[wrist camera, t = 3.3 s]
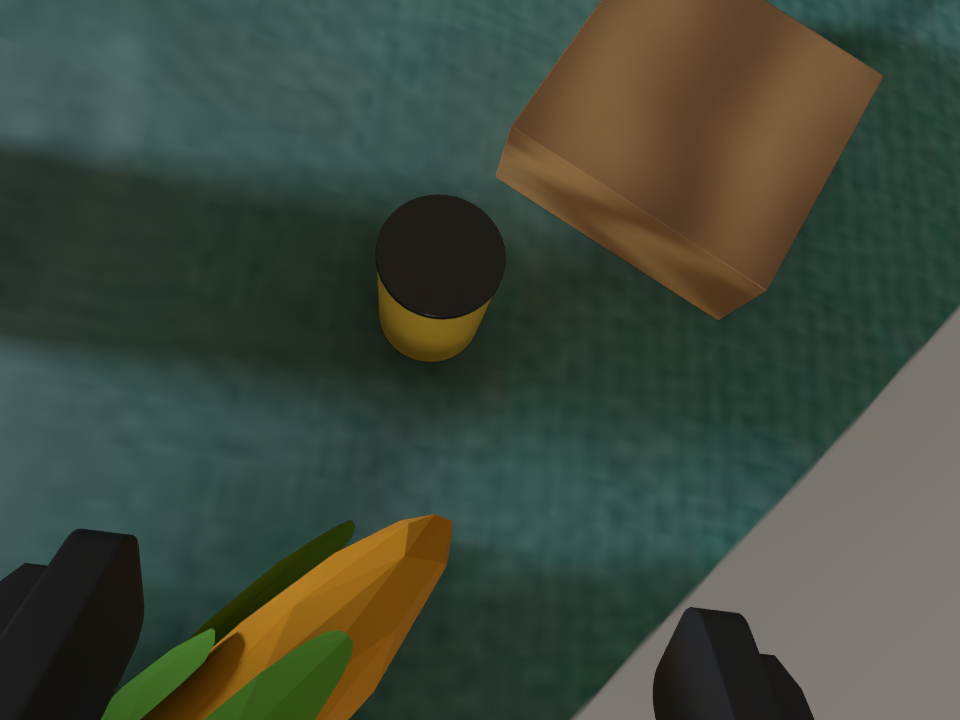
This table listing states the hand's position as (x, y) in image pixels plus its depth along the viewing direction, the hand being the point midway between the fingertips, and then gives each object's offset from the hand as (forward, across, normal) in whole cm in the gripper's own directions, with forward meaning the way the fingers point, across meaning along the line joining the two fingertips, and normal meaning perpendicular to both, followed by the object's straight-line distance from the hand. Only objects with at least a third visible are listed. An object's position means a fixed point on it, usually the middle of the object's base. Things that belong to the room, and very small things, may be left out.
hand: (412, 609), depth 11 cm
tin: (+25, 0, +8) cm, 26 cm away
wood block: (+33, -12, 0) cm, 35 cm away
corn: (+12, +5, +20) cm, 24 cm away
